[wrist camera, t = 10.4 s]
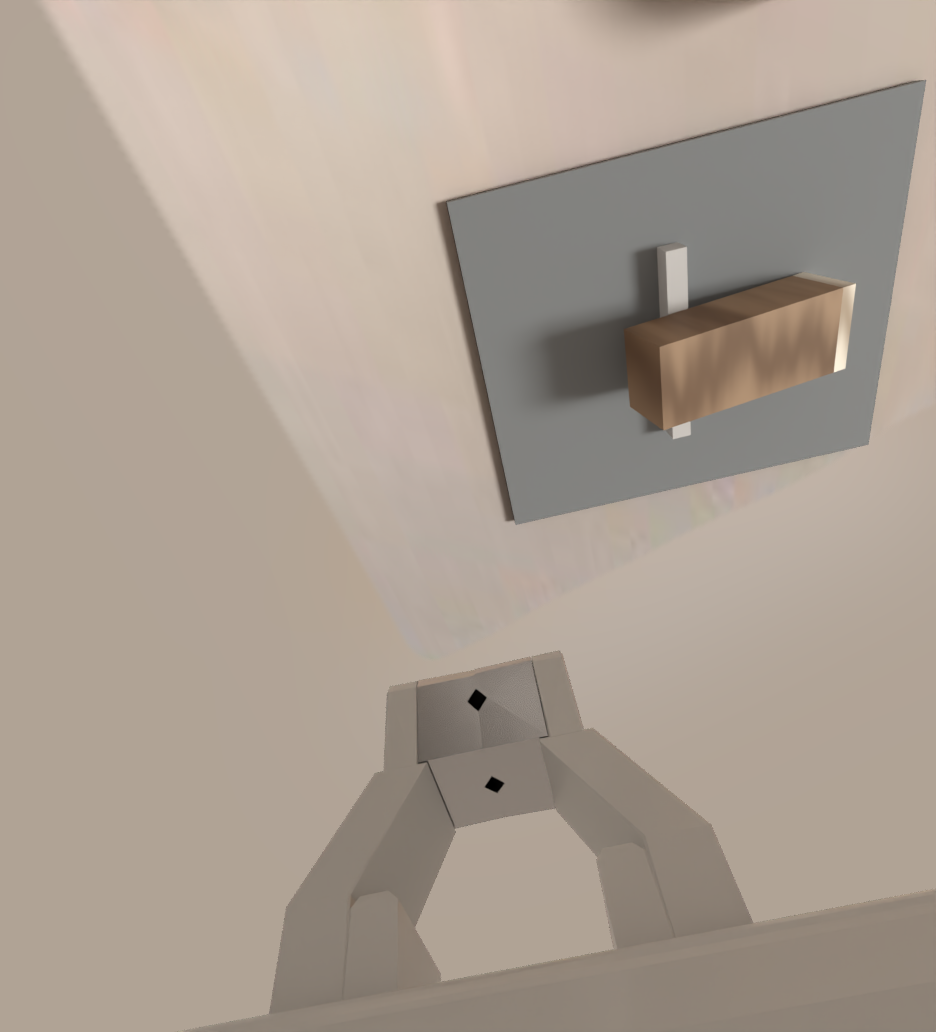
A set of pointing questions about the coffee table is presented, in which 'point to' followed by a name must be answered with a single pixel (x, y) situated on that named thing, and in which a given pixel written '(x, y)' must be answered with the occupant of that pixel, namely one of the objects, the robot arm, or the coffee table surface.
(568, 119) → the coffee table surface
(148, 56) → the coffee table surface
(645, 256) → the slate mat
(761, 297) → the walnut block
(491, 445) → the coffee table surface
